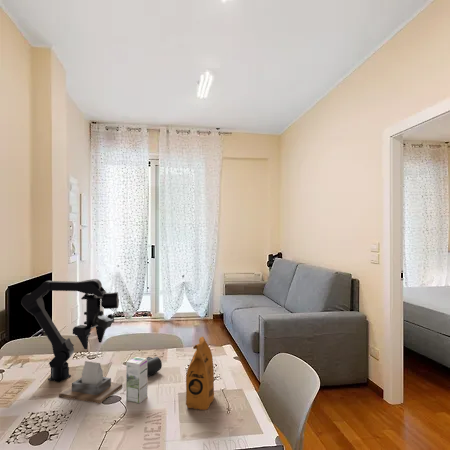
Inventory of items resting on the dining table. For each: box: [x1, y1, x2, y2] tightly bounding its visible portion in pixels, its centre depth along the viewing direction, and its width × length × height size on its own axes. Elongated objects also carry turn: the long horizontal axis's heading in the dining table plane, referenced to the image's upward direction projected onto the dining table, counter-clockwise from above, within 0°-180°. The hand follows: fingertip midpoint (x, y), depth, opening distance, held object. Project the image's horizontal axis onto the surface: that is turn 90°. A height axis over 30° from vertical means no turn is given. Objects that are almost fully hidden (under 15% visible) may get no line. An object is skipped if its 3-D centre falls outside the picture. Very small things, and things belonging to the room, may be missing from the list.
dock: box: [58, 376, 123, 404], centre depth 133 cm, size 18×14×4 cm
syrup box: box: [125, 356, 148, 404], centre depth 127 cm, size 6×6×14 cm
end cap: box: [146, 356, 163, 378], centre depth 148 cm, size 10×7×7 cm
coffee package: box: [185, 336, 215, 411], centre depth 125 cm, size 10×12×22 cm
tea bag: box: [81, 361, 104, 385], centre depth 133 cm, size 4×7×10 cm, turn 73°
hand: (93, 345), depth 147 cm, fingers open, 9 cm apart
